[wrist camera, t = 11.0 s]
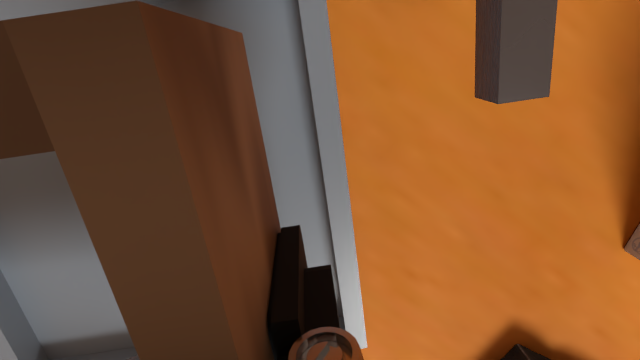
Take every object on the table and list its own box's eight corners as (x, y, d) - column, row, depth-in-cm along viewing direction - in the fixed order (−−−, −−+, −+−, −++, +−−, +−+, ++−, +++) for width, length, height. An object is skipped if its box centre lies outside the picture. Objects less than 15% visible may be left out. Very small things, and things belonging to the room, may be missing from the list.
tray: (-143, 21, 14) (-210, 17, 12) (316, -47, 14) (318, -61, 12) (45, 366, 21) (19, 398, 19) (361, 320, 21) (367, 347, 19)
